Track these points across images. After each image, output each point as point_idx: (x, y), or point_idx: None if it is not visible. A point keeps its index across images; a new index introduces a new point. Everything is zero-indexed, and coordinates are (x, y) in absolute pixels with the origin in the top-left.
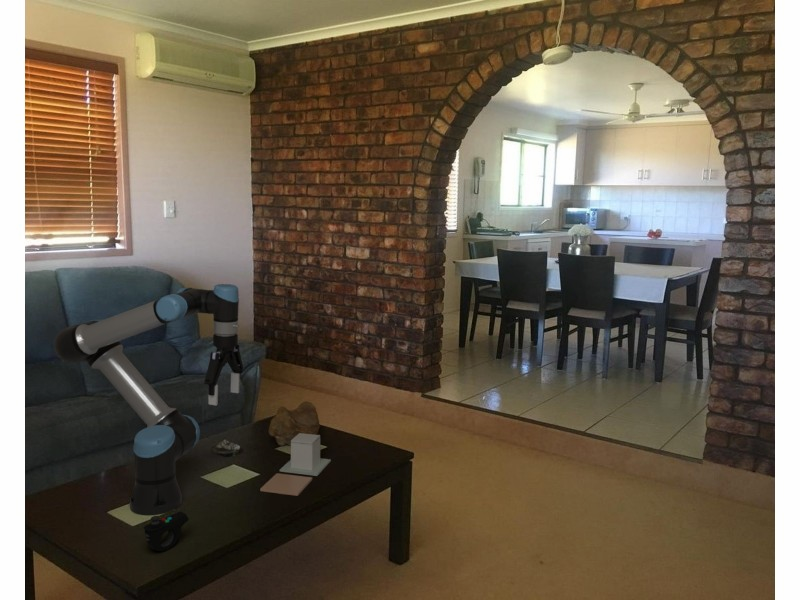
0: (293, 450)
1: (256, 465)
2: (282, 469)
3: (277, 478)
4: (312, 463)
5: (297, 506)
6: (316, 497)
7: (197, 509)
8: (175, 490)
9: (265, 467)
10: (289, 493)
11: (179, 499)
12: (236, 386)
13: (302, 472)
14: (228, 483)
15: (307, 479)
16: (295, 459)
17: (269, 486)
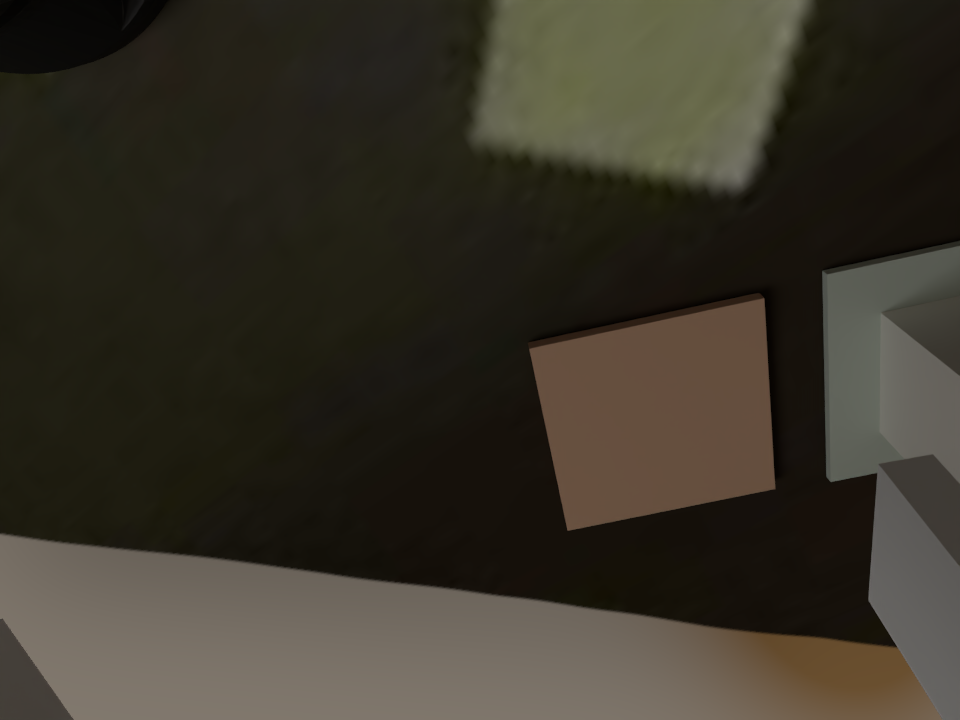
0: (946, 383)
1: (873, 66)
2: (837, 286)
3: (695, 345)
4: (903, 453)
5: (468, 576)
6: (590, 592)
7: (145, 194)
8: (27, 54)
9: (857, 148)
10: (559, 491)
11: (83, 63)
12: (954, 700)
13: (830, 407)
14: (530, 101)
15: (743, 482)
16: (910, 365)
17: (577, 373)
